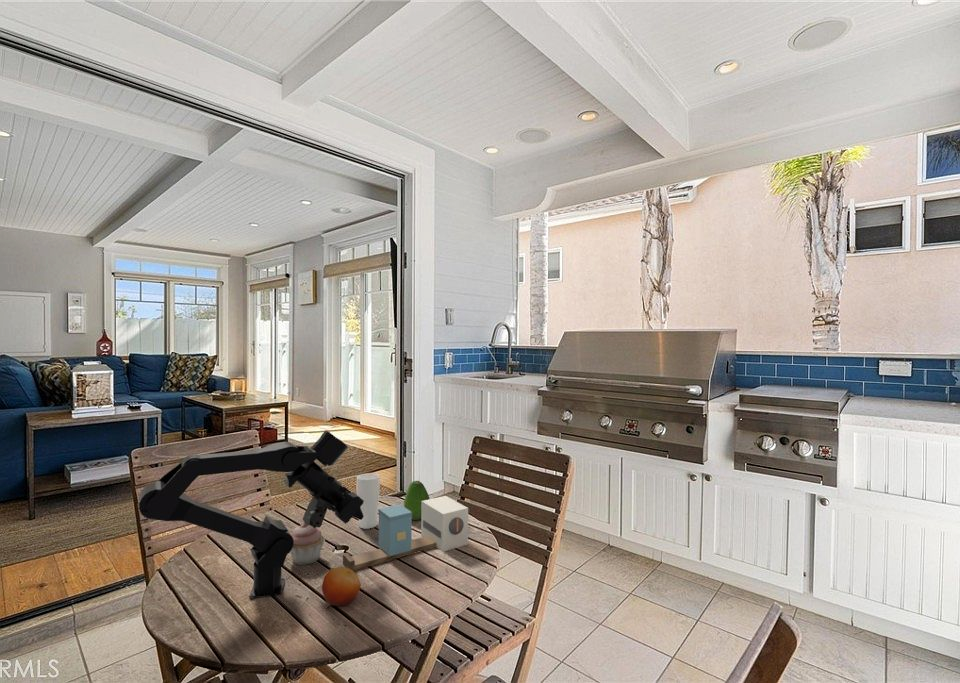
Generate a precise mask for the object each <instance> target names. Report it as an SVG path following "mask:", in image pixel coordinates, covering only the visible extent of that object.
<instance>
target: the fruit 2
mask: <svg viewBox="0 0 960 683" xmlns="http://www.w3.org/2000/svg"><path fill="white" fill-rule="evenodd" d="M429 495H430V494H429V493H428V491H427V488H426V487H425V485H424V483H422V482H421V481H420V480H413V481H411V483H409V486H408V488H407V491H406V494H405V498H404V500H403V507H405V508H406V509H408V510H409V511H411V512H412V520H414V521H418V520H421V501H424V500H429V499H431V498H430V496H429Z"/></svg>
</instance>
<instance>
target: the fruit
mask: <svg viewBox="0 0 960 683" xmlns="http://www.w3.org/2000/svg"><path fill="white" fill-rule="evenodd" d="M354 571H355V570H354ZM354 571H352V570H351V569H348V568H346V567H345V566H338V567H333V568H330V569H329V570H328V571H327V572H326V574H325V575H324V577H323V581H322V584H321V592H322V594H323V596H324V597H323V598H324V601H325V604H326V606H325V607H324V610H326V609H327V608H328V607H330V606H336V607H340V606H341V607H342V606H347V605H348V606H349V605H350V604H351V603H352V602H353V601H354V600H355V599H356V597H357V595H358V593H359V592H360V588H361V586H362V582H361V581H360V578H359V576H358V575H357V573H356V572H354Z"/></svg>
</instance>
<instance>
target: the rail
mask: <svg viewBox="0 0 960 683" xmlns="http://www.w3.org/2000/svg"><path fill="white" fill-rule="evenodd" d="M434 548H437V547H436V542H435V541H433V540H432V539H431V538H429V537H428V536H426V537H422V536H421V537H418V538H416V539H411V550H410V551H407V552H403V553H400V554H396V555H393V556H389V555H388V554H387V553H386V552H385V551H384V550H382V549H381V548H377V549H373V550H371V551H367V552H363V553H359V554H355V555H352V556H351V555H350V554H349V553H348V552H345V553H342V564H343V566H344V567H345V568H348V569H351V570H352V571H357V570H360V569H364V568H367V567H371V566H374V565H377V564H378V565H379V564H381V563H385V562H389V561H392V560H395V559H398V557H399V558H402V556H403V557H405V555H406V556H409V554H410V555H413V554H416V553H415V552H417V553H419V552H418V551H420V552H423V551H422V550H424V551H426V550H427V551H428V550H430V549H434ZM412 553H413V554H412ZM388 560H389V561H388Z"/></svg>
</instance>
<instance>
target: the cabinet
mask: <svg viewBox="0 0 960 683" xmlns="http://www.w3.org/2000/svg"><path fill="white" fill-rule="evenodd" d="M420 521H421V522H420V524H421V525H420V526H421V528H420V534H421V535H420V537H421V538H422V537H426V536H428V537H429V538H431V539H432V540H433V541H435V542H436V547H435V548H436V549H437V548H438V549H439V550H440V551H441V552H443V553H444V552H447V551H450V550H452V549H457V548H460V547H464V546H467V545H469V507H467V506H465V505H463V504H461V503H460V502H458V501H456V500H454V499H452V498H451V497H448V496H447V495H444V496H439V497H435V498H430V499H429V500H424V501H421V519H420Z"/></svg>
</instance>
